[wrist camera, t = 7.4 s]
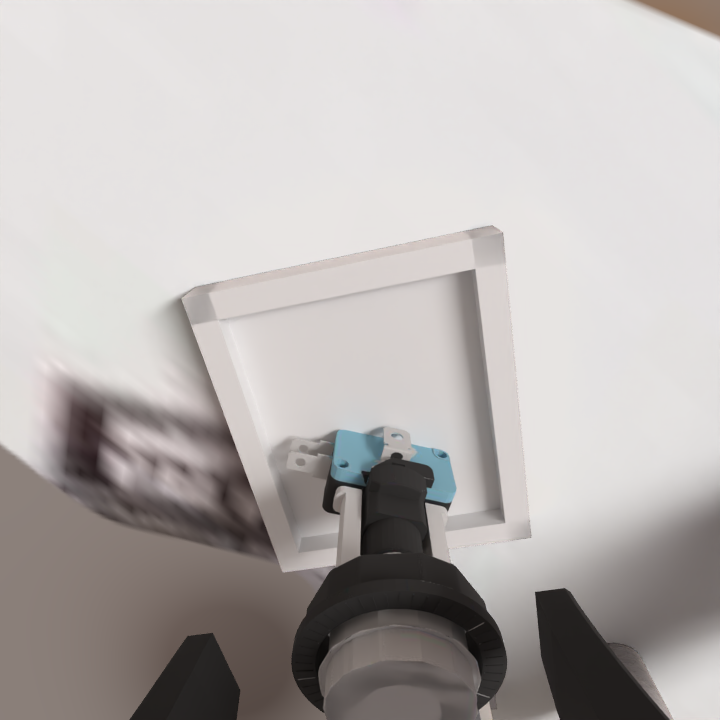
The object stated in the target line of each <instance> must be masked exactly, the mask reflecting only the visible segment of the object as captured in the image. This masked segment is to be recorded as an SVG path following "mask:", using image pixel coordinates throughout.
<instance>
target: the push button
mask: <svg viewBox="0 0 720 720" xmlns="http://www.w3.org/2000/svg"><path fill="white" fill-rule="evenodd" d="M392 434H397V435H400V436H401V437H402V438H403V439H402V440H397V439H395V438H393V437H392V436H391V435H392ZM300 445H306V446H307V447H308V451H307V452H301V451H300V450H299V448H298V447H299V446H300ZM298 458H302V459H304V460H305V462H306V463H305V465H303V466H299V465H297V464H296V463H295V460H296V459H298ZM286 467H287V468H288V469H292V470H297V471H302V472H307V473H311V474H313V477H315V478H320V479H325V480H327V481H326V485H325V489H324V496H323V503H322V507H323V509H324V510H325V511H326V512H328V513H332V514H337V515H340V521H339V533H338V545H337V557H336V568H334V569H332V570H331V571H330V572H329V574H328V575H327V577H326V579H325V580H324V582H323V584H322V585H321V587H320V588H319V590H318V592H317V593H316V595H315V597H314V598H313V600H312V601H311V603H310V605H309V607H308V608H307V614H306V617H305V618H304V619H303V621H302V622H301V624H300V626H299V628H298V630H297V633H296V636H295V641H294V645H293V651H292V663H291V664H292V672H293V675H294V678H295V681H296V683H297V685H298V687H299V689H300V690H301V692H302V693H303V694H304V695H305V697H306V698H307V699H308V700H309V701H310V702H311V703H312V704H313V705H314V706H316V707H317V708H318V709H319V710H321V711H322V712H324V713H325V715H326V717H327V720H475V719H476V717H477V715H478V710H480V709H481V708H482V707H483V706H485V705H486V704H487V703H488V702H489V701H490V700H491V699H492V698H493V697H494V695H495V694H496V693H497V691H498V690H499V688H500V686H501V684H502V682H503V680H504V677H505V673H506V669H507V656H506V651H505V647H504V643H503V639H502V636H501V632H500V630H499V628H498V626H497V624H496V622H495V621H494V619H493V618H492V617H491V615H490V614H489V613H488V612H487V610H486V606H485V603H484V601H483V599H482V598H481V597H480V596H479V594H478V593H477V592H476V591H475V589H474V588H473V587H472V586H471V585H470V583H469V582H468V581H467V580H466V578H465V577H464V576H463V575H462V573H461V572H460V571H459V570H458V569H457V567H456V566H454V565H453V564H451V561H450V556H449V550H448V545H447V540H446V534H445V529H444V528H445V526H446V523H447V521H448V511H449V508H450V506H451V503H452V500H453V498H454V495H455V493H456V489H457V488H456V484H455V480H454V475H453V471H452V467H451V463H450V457H449V455H448V453H446V452H445V451H443V450H440V449H435V448H427V447H423V446H418V445H413V444H411V439H410V434H409V433H408V432H407V431H405V430H400V429H395V428H391V427H385V428H383V438H381V437H376V436H372V435H367V434H362V433H358V432H353V431H348V430H339V431H338V432H337V435H336V439H335V443H332V442H327V441H323V440H320V443H317V442H312V441H307V440H303V439H298V438H294V439H293V440H292V445H291V449H290V452H289V455H288V460H287V465H286ZM465 631H466V633H465ZM329 633H330V637H329V635H328V634H329Z"/></svg>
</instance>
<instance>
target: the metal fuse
mask: <svg viewBox="0 0 720 720" xmlns="http://www.w3.org/2000/svg"><path fill="white" fill-rule="evenodd" d="M607 644H608V646H609V647H610V648H611V649H612V651H613V652H614V653H615V655H616V656H617V657H618V658H619V660H620V661H621V662H622V663H623V665H624V666H625V667H626V668H627V670H628V671H629V672H630V673H631V674H632V676H633V677H634V678H635V679H636V680H637V682H638V683H639V684H640V685H641V686H642V687H643V689H644V690H645V691H646V692H647V693H648V695H649V696H650V697H651V698H652V699H653V701H654V702H655V703H656V704H657V705H658V706H659V708H660V709H661V710H662V711H663V712H664V713H665V714H666V716H667V717H668V718H669V719H670V720H673V718H672V716H671V714H670V712H669V710H668V708H667V706H666V704H665V702H664V701H663V699H662V697H661V695H660V693H659V691H658V689H657V687H656V685H655V683H654V681H653V679H652V678H651V676H650V674H649V672H648V670H647V668H646V666H645V664H644V662H643V660H642V658H641V657H640V655H639V654H638V652H636V651H635V650H634V649H632V648H630V647H628V646H625V645H622V644H615V643H607Z"/></svg>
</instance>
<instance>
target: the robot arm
mask: <svg viewBox="0 0 720 720" xmlns="http://www.w3.org/2000/svg"><path fill="white" fill-rule="evenodd" d="M535 596H536V606H537V617H538V628H539V638H540V649H541V657H542V661H543V664H544V668H545V671H546V675H547V678H548V682H549V685H550V689H551V692H552V695H553V699H554V702H555V706H556V709H557V712H558V715H559V718H560V720H670V719H669V718H668V717H667V716H666V714H665V713H664V712H663V711H662V710H661V709H660V708H659V706H658V705H657V704H656V703H655V702H654V701H653V699H652V698H651V697H650V696H649V695H648V693H647V692H646V691H645V690H644V689H643V687H642V686H641V685H640V684H639V683H638V682H637V680H636V679H635V678H634V677H633V676H632V674H631V673H630V672H629V671H628V670H627V668H626V667H625V666H624V665H623V663H622V662H621V661H620V660H619V658H618V657H617V656H616V655H615V653H614V652H613V651H612V649H611V648H610V647H609V646H608V644H607V643H606V642H605V640H604V639H603V638H602V636H601V635H600V634H599V632H598V631H597V630H596V628H595V627H594V626H593V624H592V623H591V622H590V620H589V619H588V617H587V616H586V615H585V613H584V612H583V610H582V609H581V607H580V606H579V604H578V603H577V601H576V600H575V598H574V597H573V595H572V594H571V592H570V591H568V590H567V589H565V588H563V589H555V590H547V591H540V592H535ZM239 695H240V689H239V687H238V685H237V683H236V681H235V679H234V676H233V674H232V672H231V670H230V668H229V666H228V664H227V662H226V660H225V658H224V656H223V654H222V651H221V649H220V647H219V645H218V643H217V641H216V639H215V637H214V635H213V633H209V634H201V635H193V636H188V637H187V638H186V639H185V640H184V642H183V643H182V645H181V646H180V648H179V649H178V650H177V652H176V653H175V655H174V656H173V658H172V659H171V661H170V662H169V663H168V665H167V666H166V668H165V669H164V671H163V672H162V674H161V675H160V677H159V678H158V680H157V681H156V682H155V684H154V685H153V687H152V688H151V690H150V691H149V693H148V694H147V696H146V697H145V698H144V700H143V701H142V703H141V704H140V706H139V707H138V709H137V710H136V711H135V713H134V714H133V716H132V717H131V718H130V720H236V719H237V711H238V703H239Z"/></svg>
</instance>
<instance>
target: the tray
mask: <svg viewBox="0 0 720 720" xmlns="http://www.w3.org/2000/svg"><path fill="white" fill-rule="evenodd" d="M181 300H182V302H183V305H184V308H185V310H186V313H187V316H188V318H189V321H190V324H191V327H192V329H193V332H194V335H195V337H196V340H197V343H198V345H199V348H200V351H201V353H202V356H203V359H204V362H205V364H206V367H207V370H208V372H209V375H210V378H211V380H212V383H213V386H214V389H215V391H216V394H217V397H218V399H219V402H220V405H221V407H222V410H223V413H224V416H225V418H226V421H227V424H228V426H229V429H230V432H231V434H232V437H233V440H234V443H235V445H236V448H237V451H238V453H239V456H240V459H241V461H242V464H243V467H244V470H245V472H246V475H247V478H248V480H249V483H250V486H251V488H252V491H253V494H254V497H255V499H256V502H257V505H258V507H259V510H260V513H261V515H262V518H263V521H264V524H265V526H266V529H267V532H268V534H269V537H270V540H271V542H272V545H273V548H274V551H275V553H276V556H277V559H278V561H279V564H280V567H281V569H282V572H290V571H297V570H304V569H312V568H319V567H326V566H333V565H336V557H337V545H338V533H339V521H340V515H337V514H332V513H328V512H326V511H325V510H324V509H323V507H322V503H323V496H324V489H325V485H326V481H327V480H325V479H320V478H315V477H313V474H311V473H307V472H302V471H297V470H292V469H288V468H287V467H286V465H287V460H288V455H289V452H290V449H291V445H292V440H293V439H294V438H298V439H303V440H307V441H312V442H317V443H320V440H323V441H327V442H332V443H335V439H336V435H337V432H338V431H339V430H348V431H353V432H358V433H362V434H367V435H372V436H376V437H381V438H383V428H385V427H391V428H395V429H400V430H405V431H407V432H408V433H409V434H410V439H411V444H413V445H418V446H423V447H427V448H435V449H440V450H443V451H445V452H446V453H448V455H449V457H450V463H451V467H452V471H453V475H454V480H455V484H456V488H457V489H456V493H455V495H454V498H453V500H452V503H451V506H450V508H449V511H448V521H447V523H446V526H445V528H444V529H445V534H446V540H447V545H448V549H454V548H462V547H469V546H476V545H483V544H490V543H497V542H504V541H512V540H519V539H526V538H531V528H530V517H529V506H528V495H527V485H526V474H525V463H524V452H523V442H522V431H521V420H520V409H519V398H518V388H517V377H516V366H515V355H514V345H513V334H512V323H511V312H510V301H509V291H508V280H507V269H506V258H505V248H504V237H503V232H502V231H500V230H499V229H497V228H496V227H494V226H493V225H492V226H487V227H482V228H477V229H472V230H467V231H463V232H458V233H453V234H448V235H443V236H439V237H434V238H429V239H424V240H419V241H414V242H410V243H405V244H400V245H395V246H390V247H386V248H381V249H376V250H371V251H366V252H362V253H357V254H352V255H347V256H342V257H337V258H333V259H328V260H323V261H318V262H313V263H309V264H304V265H299V266H294V267H289V268H284V269H280V270H275V271H270V272H265V273H260V274H256V275H251V276H246V277H241V278H236V279H231V280H227V281H222V282H217V283H212V284H207V285H203V286H198V287H195V288H194V289H192V290H191V291H190V292H189V293H188V294H186V295H185V296H184V297H183V298H181ZM391 436H392V437H393V438H395V439H397V440H402V439H403V438H402V437H401V436H400V435H397V434H392V435H391ZM298 448H299V450H300V451H301V452H307V451H308V447H307V446H306V445H300V446H299V447H298ZM295 463H296V464H297V465H299V466H303V465H305V463H306V462H305V460H304V459H302V458H298V459H296V460H295Z"/></svg>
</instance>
